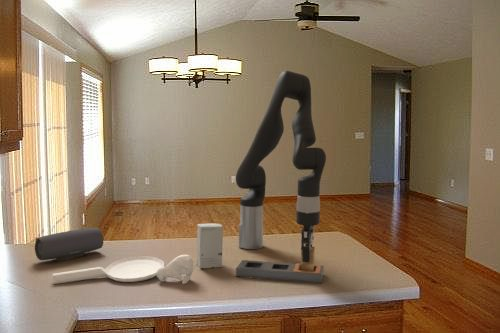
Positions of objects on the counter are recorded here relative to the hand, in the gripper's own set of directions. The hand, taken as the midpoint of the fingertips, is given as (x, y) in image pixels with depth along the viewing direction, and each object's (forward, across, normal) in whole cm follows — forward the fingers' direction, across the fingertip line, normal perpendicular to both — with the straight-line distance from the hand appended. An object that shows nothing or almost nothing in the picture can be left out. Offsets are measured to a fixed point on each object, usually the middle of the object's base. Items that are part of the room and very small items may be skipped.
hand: (307, 258), depth 154 cm
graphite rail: (+7, 0, -9) cm, 11 cm away
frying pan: (+7, +14, -63) cm, 65 cm away
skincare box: (+7, -5, -35) cm, 36 cm away
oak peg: (+7, 0, 0) cm, 7 cm away
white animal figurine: (+7, +13, -41) cm, 43 cm away
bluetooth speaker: (+7, -3, -89) cm, 89 cm away
